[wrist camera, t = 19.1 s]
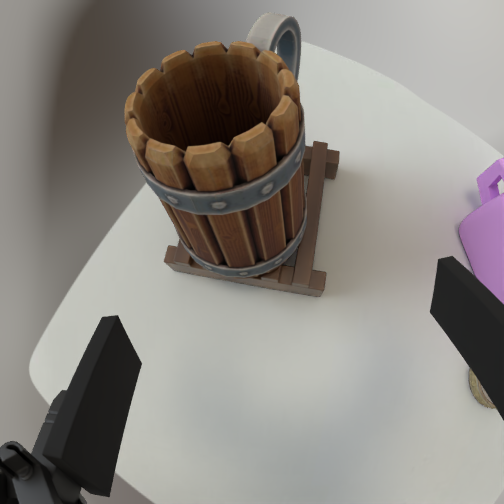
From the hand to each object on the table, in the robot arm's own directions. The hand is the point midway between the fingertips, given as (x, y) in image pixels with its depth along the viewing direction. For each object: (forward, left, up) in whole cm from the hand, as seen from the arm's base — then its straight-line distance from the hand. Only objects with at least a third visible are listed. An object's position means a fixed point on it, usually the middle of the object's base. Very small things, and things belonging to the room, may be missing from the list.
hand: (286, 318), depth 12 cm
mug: (-4, +11, -13) cm, 17 cm away
